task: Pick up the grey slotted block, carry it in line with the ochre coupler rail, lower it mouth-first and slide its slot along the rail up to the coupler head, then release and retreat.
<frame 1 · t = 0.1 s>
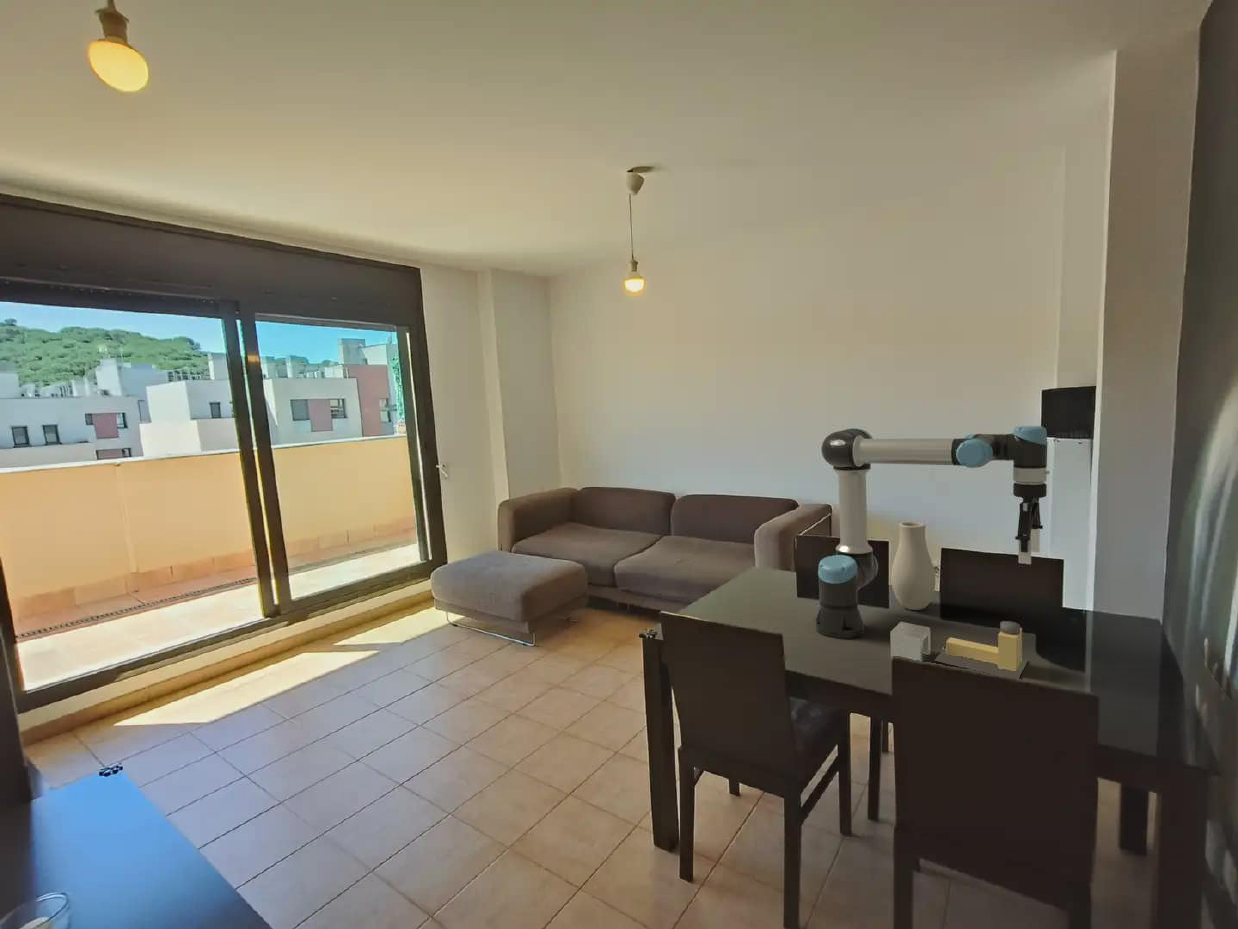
hand: (1029, 557, 161), 28 cm above the table, fingers open, 13 cm apart
mat: (980, 661, 160), on the table
vase: (913, 608, 202), on the table
grey slotted block: (910, 656, 167), on the table
coupler: (982, 640, 159), on the mat
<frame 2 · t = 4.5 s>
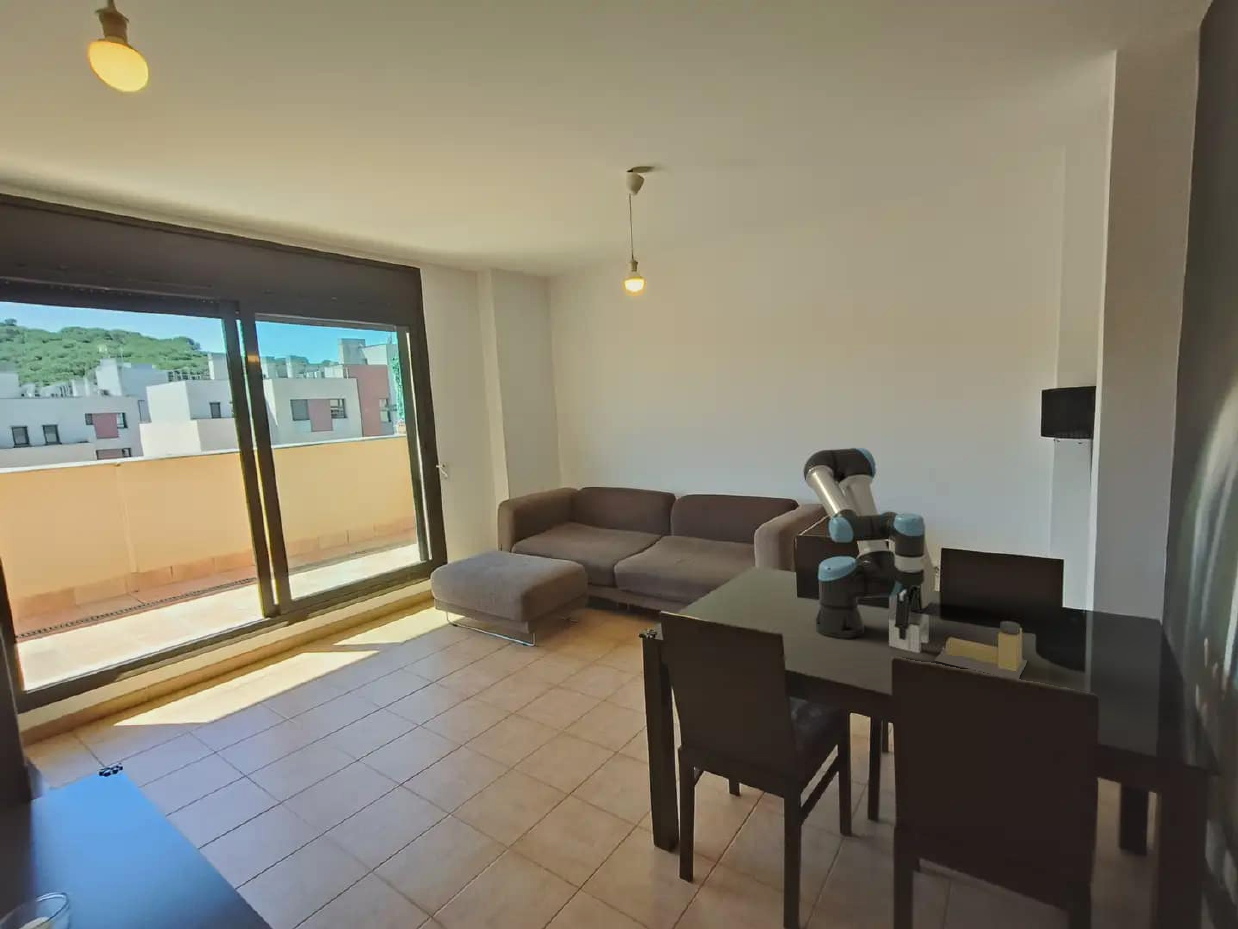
hand: (909, 642, 167), 4 cm above the table, fingers closed on grey slotted block, 9 cm apart
grey slotted block: (908, 643, 167), point 3 cm above the table, touching gripper
everything else where it was.
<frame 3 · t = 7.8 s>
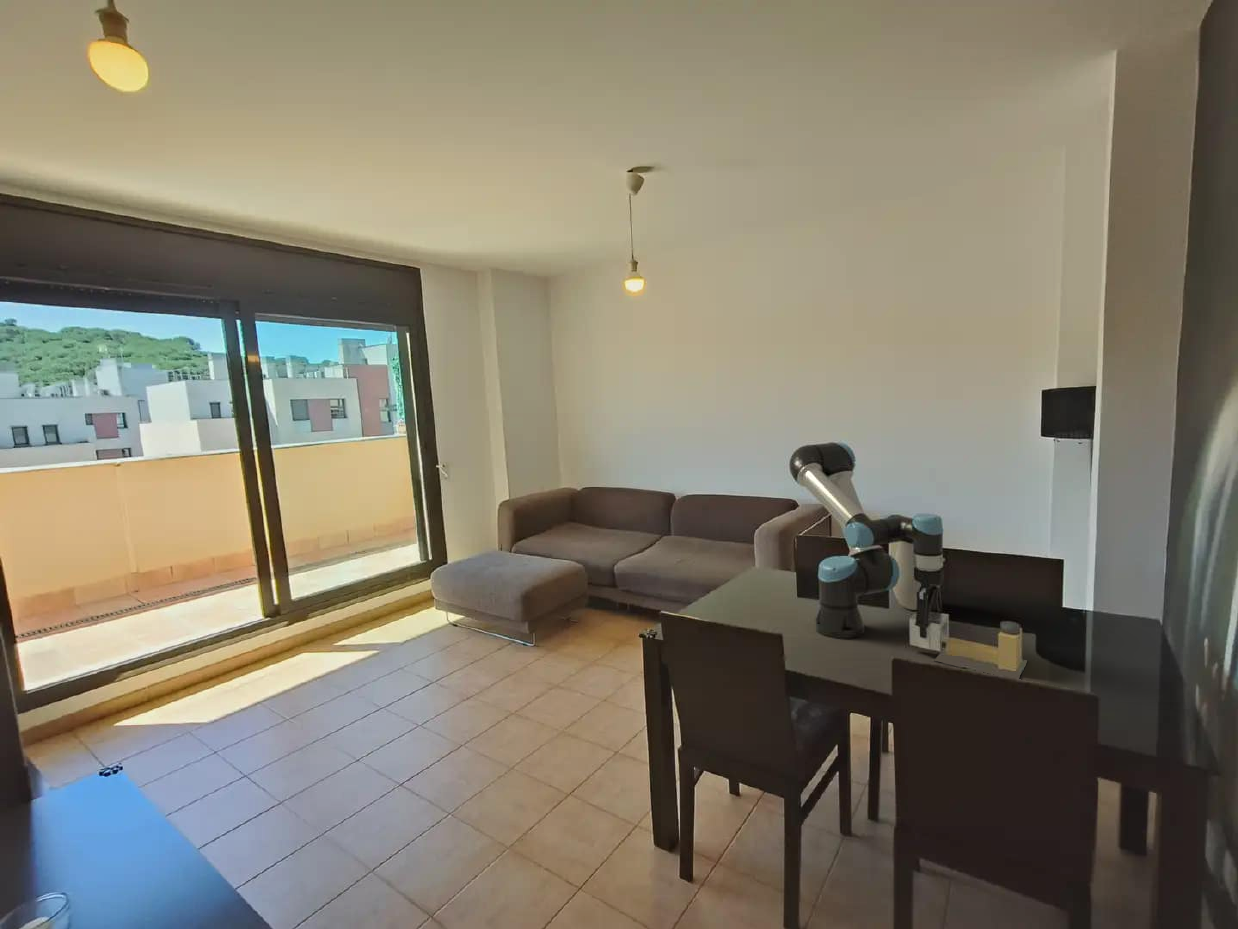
hand: (929, 641, 169), 3 cm above the table, fingers closed on grey slotted block, 9 cm apart
grey slotted block: (929, 642, 169), point 2 cm above the table, touching gripper
everything else where it was.
when the fingers open (2 cm above the table, at t = 11.0 s): grey slotted block drops 2 cm, resting on mat.
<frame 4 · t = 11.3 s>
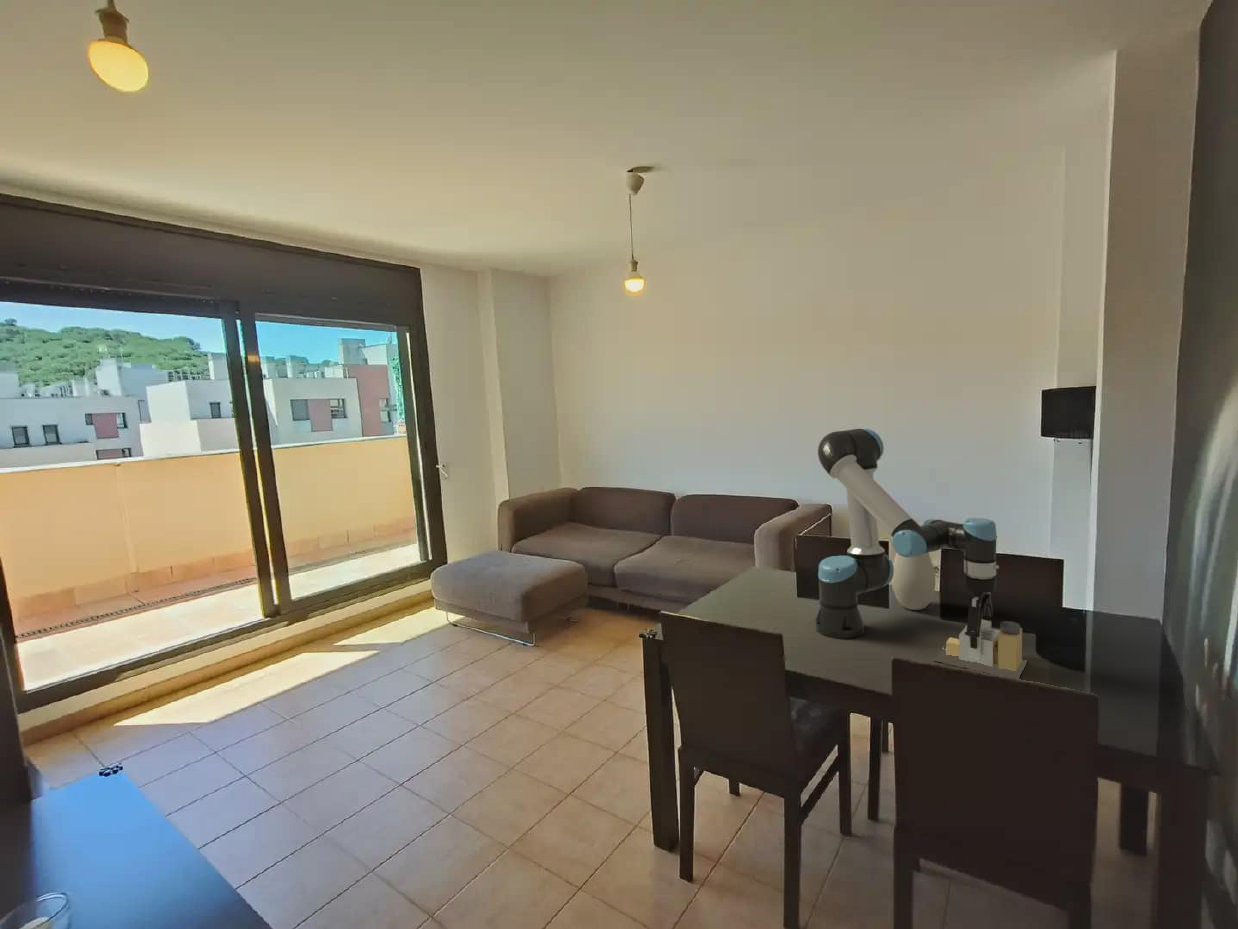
hand: (980, 650, 160), 3 cm above the table, fingers open, 12 cm apart
grey slotted block: (979, 660, 161), resting on mat
everything else where it was.
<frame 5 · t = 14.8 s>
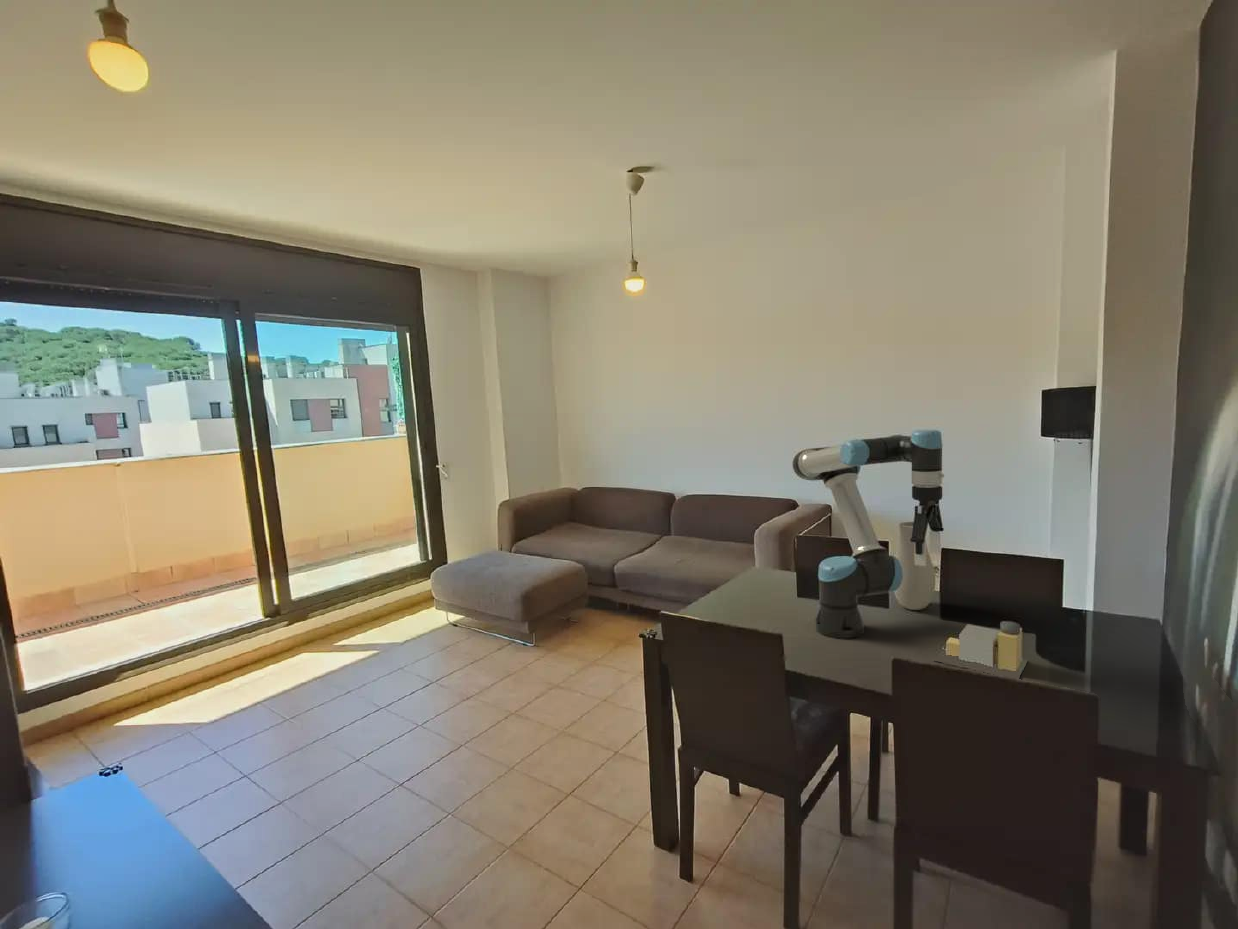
hand: (927, 559, 163), 29 cm above the table, fingers open, 13 cm apart
nothing on the table moved.
at the end: grey slotted block 1.2 cm from the target spot on the coupler, point 0.4 cm above the coupler's base; grey slotted block tilted 0°; the gripper is holding nothing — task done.
